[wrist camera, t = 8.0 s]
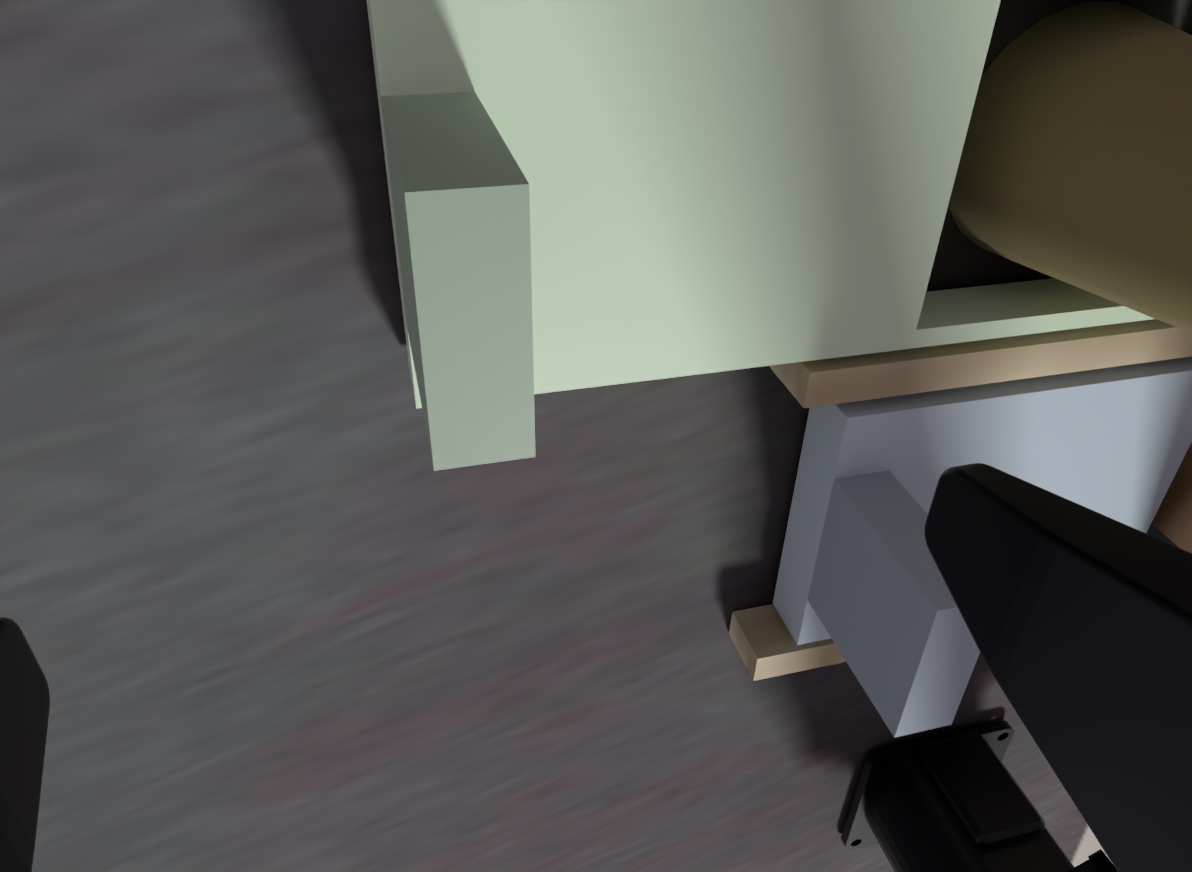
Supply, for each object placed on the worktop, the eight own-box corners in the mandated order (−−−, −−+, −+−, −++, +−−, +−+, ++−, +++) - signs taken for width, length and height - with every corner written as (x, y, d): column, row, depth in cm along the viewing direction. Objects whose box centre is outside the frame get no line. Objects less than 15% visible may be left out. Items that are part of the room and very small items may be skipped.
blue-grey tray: (1273, 509, 32) (1459, 643, 27) (772, 602, 28) (878, 784, 23) (1394, 307, 28) (1645, 422, 22) (814, 381, 23) (960, 545, 18)
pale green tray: (1140, 285, 24) (1367, 413, 19) (409, 366, 20) (443, 561, 15) (1278, -53, 20) (1626, -5, 14) (361, -44, 15) (386, 29, 10)
